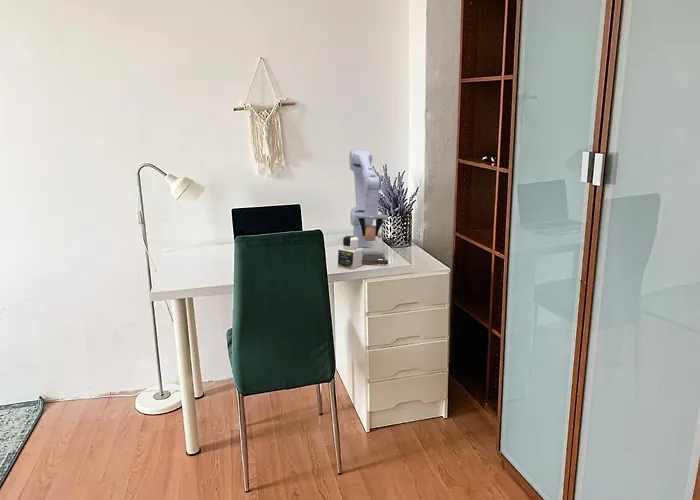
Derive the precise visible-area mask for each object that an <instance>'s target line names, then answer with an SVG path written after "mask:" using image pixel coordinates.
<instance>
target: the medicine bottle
mask: <svg viewBox="0 0 700 500" xmlns="http://www.w3.org/2000/svg"><path fill="white" fill-rule="evenodd" d="M342 239H343V240H342V247H341V248H338V252H337V266H338V267H341V268H346V269H351V270H353V269H357V268H358V267H361V266H363V265H362V253H363V248H362V247H358V238H357V237H355V236H353V235H346V236H344V237H343V238H342Z"/></svg>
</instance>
